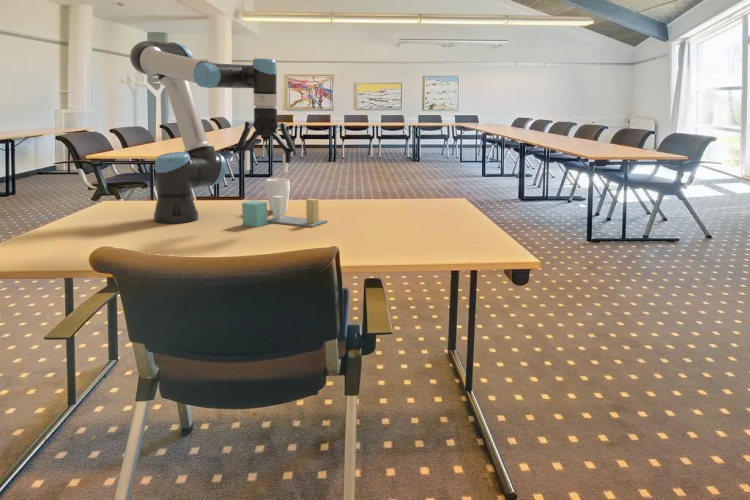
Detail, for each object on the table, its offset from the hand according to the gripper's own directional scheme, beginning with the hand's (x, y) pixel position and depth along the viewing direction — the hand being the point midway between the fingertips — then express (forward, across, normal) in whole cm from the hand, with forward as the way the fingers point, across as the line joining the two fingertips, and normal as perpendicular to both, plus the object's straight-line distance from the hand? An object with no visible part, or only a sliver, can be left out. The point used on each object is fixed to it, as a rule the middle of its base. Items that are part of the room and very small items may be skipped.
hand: (266, 171), depth 214 cm
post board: (+18, +8, +6) cm, 21 cm away
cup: (+19, -6, +26) cm, 33 cm away
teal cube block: (+18, -4, -1) cm, 19 cm away
